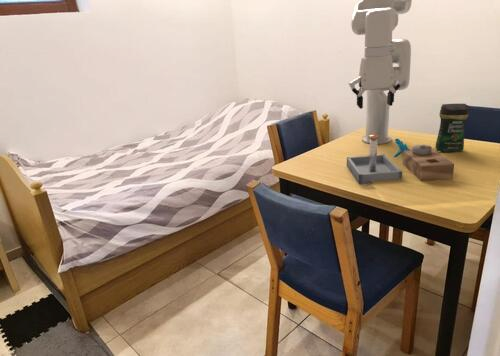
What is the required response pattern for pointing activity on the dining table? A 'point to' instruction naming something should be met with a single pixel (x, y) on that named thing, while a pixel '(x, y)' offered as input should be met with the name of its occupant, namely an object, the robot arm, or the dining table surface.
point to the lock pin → (373, 152)
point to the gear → (401, 147)
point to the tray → (364, 176)
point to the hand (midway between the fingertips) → (374, 106)
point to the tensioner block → (427, 163)
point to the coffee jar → (452, 128)
